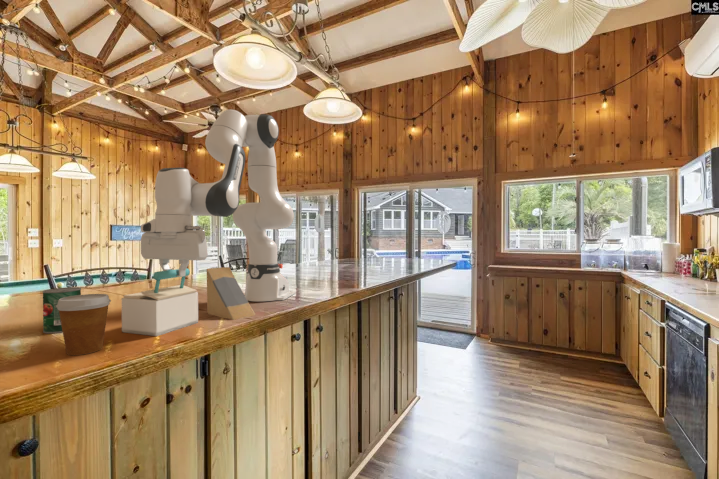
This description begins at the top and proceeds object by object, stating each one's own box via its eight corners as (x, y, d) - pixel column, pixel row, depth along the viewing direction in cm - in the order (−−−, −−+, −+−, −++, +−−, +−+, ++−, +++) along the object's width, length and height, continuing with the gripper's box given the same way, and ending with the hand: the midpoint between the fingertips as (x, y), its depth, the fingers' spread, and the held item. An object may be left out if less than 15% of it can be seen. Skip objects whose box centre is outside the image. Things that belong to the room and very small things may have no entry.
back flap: (164, 290, 102) (164, 287, 102) (179, 291, 101) (179, 288, 101) (123, 297, 90) (123, 294, 90) (139, 298, 88) (139, 295, 88)
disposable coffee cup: (48, 361, 69) (47, 302, 69) (66, 346, 78) (66, 295, 78) (104, 354, 73) (104, 299, 73) (116, 341, 82) (115, 292, 82)
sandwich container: (233, 321, 102) (233, 271, 102) (206, 313, 111) (205, 268, 111) (257, 315, 109) (256, 269, 109) (229, 309, 118) (229, 266, 118)
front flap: (157, 300, 86) (162, 276, 86) (141, 293, 88) (146, 270, 87) (196, 292, 99) (200, 271, 98) (181, 286, 100) (185, 265, 100)
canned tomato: (36, 331, 90) (35, 290, 90) (70, 324, 97) (70, 286, 97) (53, 335, 87) (53, 292, 87) (87, 327, 94) (87, 288, 94)
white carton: (166, 319, 103) (166, 290, 103) (198, 322, 99) (198, 292, 99) (121, 332, 90) (121, 298, 90) (156, 336, 86) (156, 301, 86)
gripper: (212, 226, 93) (213, 276, 93) (156, 226, 99) (156, 273, 99) (195, 225, 87) (195, 279, 87) (135, 225, 93) (136, 275, 93)
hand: (174, 276), depth 93 cm, fingers open, 3 cm apart
